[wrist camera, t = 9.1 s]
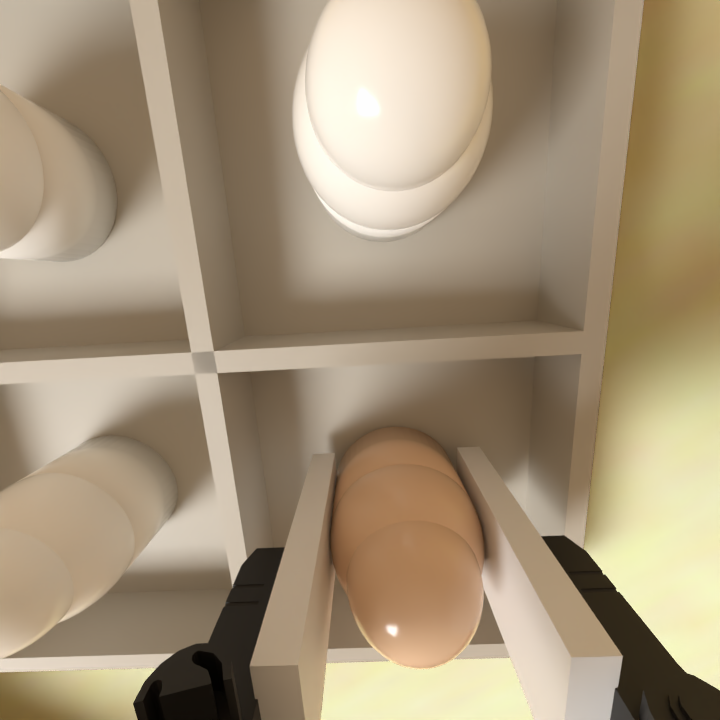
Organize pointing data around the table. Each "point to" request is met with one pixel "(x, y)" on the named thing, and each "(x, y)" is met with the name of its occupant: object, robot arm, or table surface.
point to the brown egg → (407, 547)
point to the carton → (304, 292)
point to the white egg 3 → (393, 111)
